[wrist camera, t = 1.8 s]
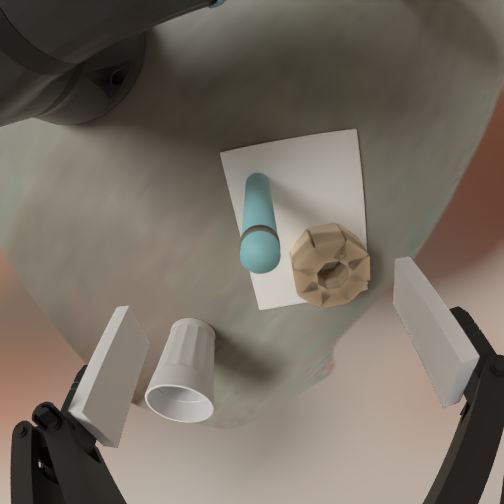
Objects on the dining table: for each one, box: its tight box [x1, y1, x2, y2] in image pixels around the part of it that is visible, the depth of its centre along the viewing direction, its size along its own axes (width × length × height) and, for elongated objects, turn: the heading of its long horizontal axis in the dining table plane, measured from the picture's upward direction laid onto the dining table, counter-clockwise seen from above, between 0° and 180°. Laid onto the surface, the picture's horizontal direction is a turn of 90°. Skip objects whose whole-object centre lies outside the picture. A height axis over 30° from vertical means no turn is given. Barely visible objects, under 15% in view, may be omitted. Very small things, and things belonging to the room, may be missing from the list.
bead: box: [289, 223, 370, 308], centre depth 34 cm, size 8×8×4 cm
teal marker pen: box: [240, 173, 281, 274], centre depth 25 cm, size 2×2×15 cm
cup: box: [145, 318, 216, 423], centre depth 37 cm, size 8×8×12 cm
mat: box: [220, 129, 368, 310], centre depth 34 cm, size 20×14×1 cm
